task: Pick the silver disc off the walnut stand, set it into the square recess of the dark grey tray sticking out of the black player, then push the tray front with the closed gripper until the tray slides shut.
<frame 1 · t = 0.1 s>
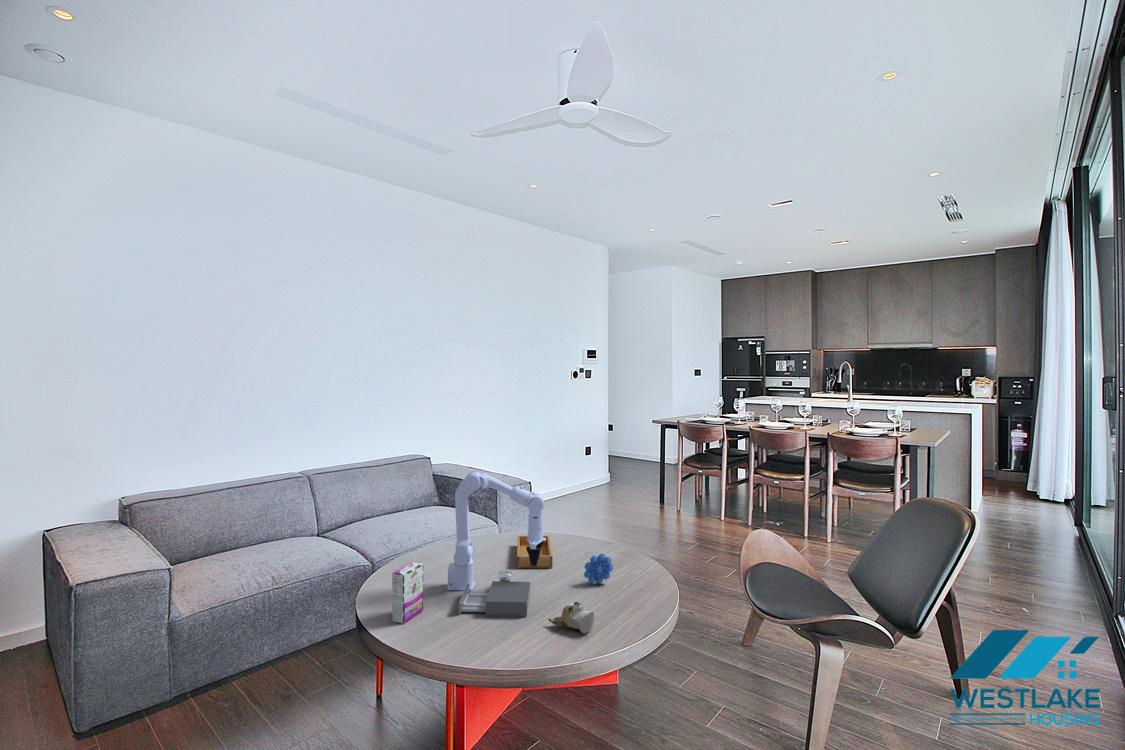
hand: (534, 562, 209), 10 cm above the table, fingers open, 7 cm apart
player housing: (508, 605, 193), on the table
blue flower shape: (598, 583, 215), on the table
tray: (533, 557, 245), on the table
ceramic sculpture: (574, 628, 177), on the table
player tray: (482, 598, 193), point 2 cm above the table, slide at 8.0 cm
silver disc: (505, 578, 208), point 4 cm above the table, touching walnut disc stand
candy bar box: (407, 616, 183), on the table
walnut disc stand: (504, 588, 208), on the table
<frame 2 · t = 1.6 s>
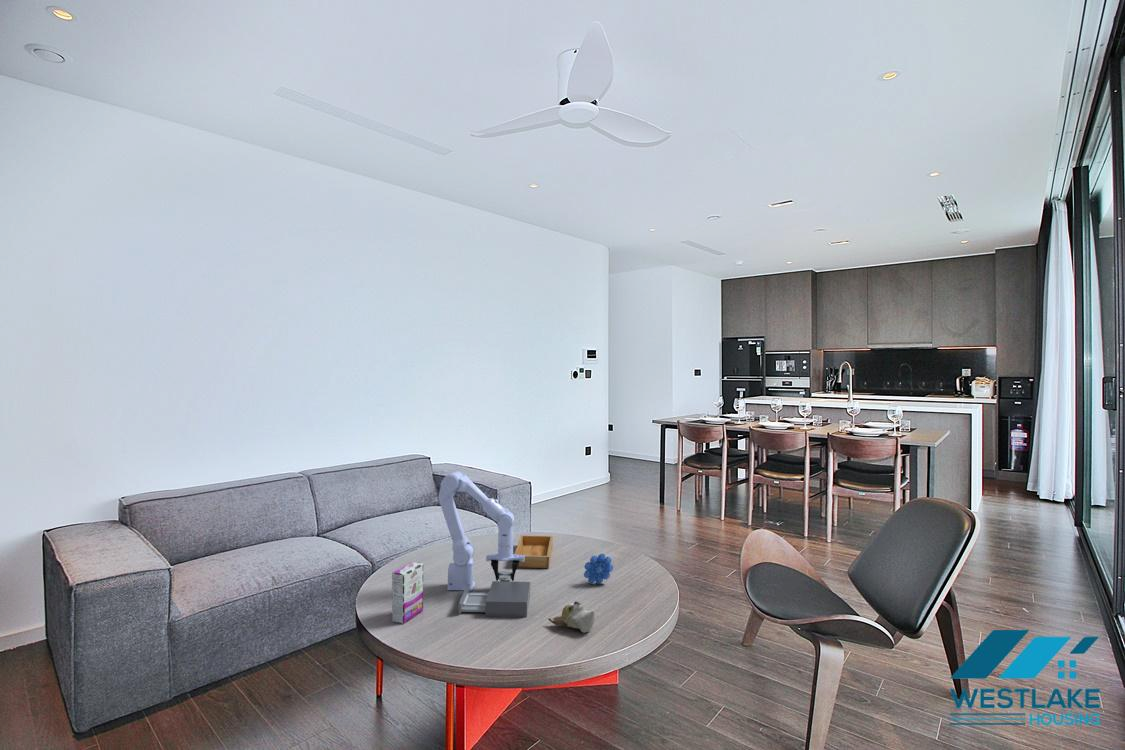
hand: (505, 579, 208), 3 cm above the table, fingers closed on silver disc, 5 cm apart
silver disc: (505, 578, 208), point 4 cm above the table, touching gripper, walnut disc stand
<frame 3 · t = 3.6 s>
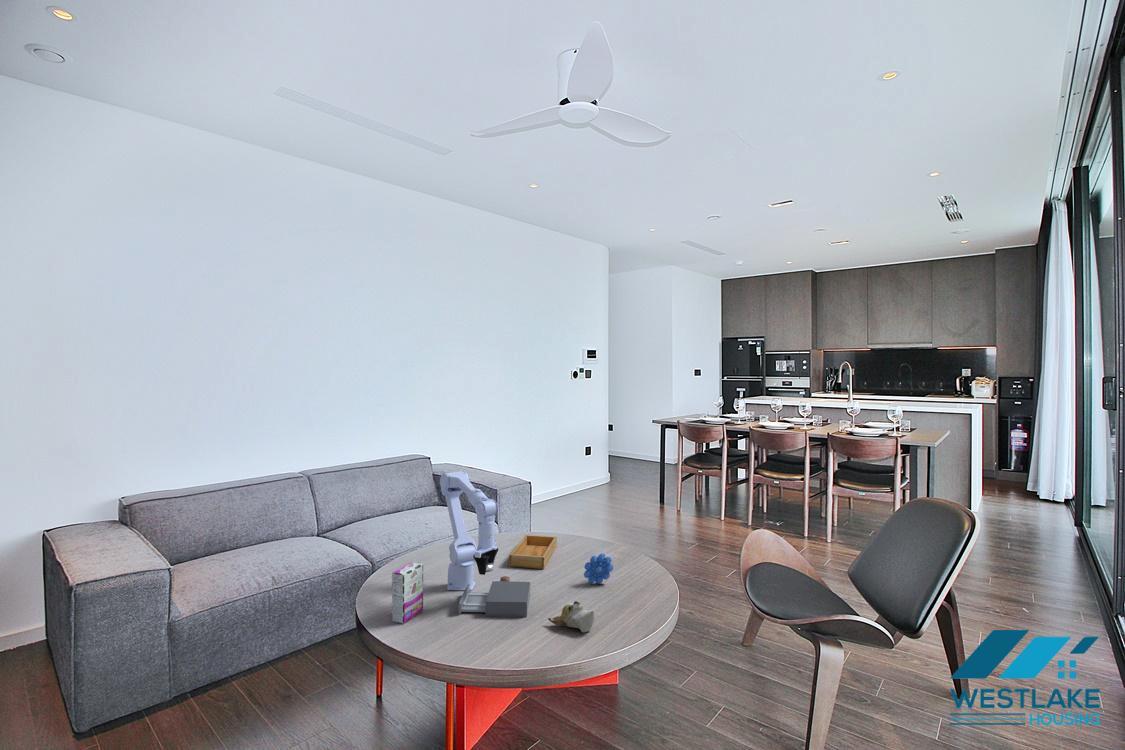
hand: (485, 571, 197), 10 cm above the table, fingers closed on silver disc, 5 cm apart
silver disc: (485, 569, 197), point 11 cm above the table, touching gripper
when the fingers open (2 cm above the table, at t = 6.0 s): silver disc drops 2 cm, resting on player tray.
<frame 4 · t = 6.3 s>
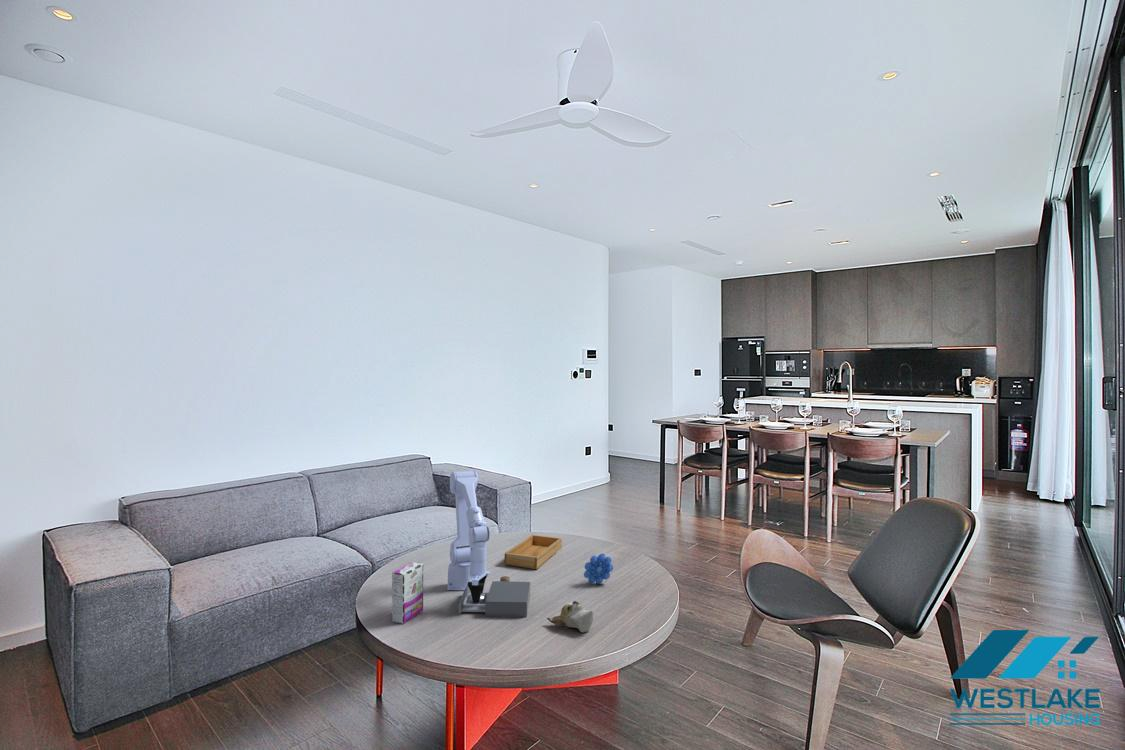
hand: (477, 597, 193), 2 cm above the table, fingers open, 7 cm apart
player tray: (482, 598, 193), point 2 cm above the table, slide at 8.0 cm, touching silver disc
silver disc: (477, 600, 193), point 1 cm above the table, touching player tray
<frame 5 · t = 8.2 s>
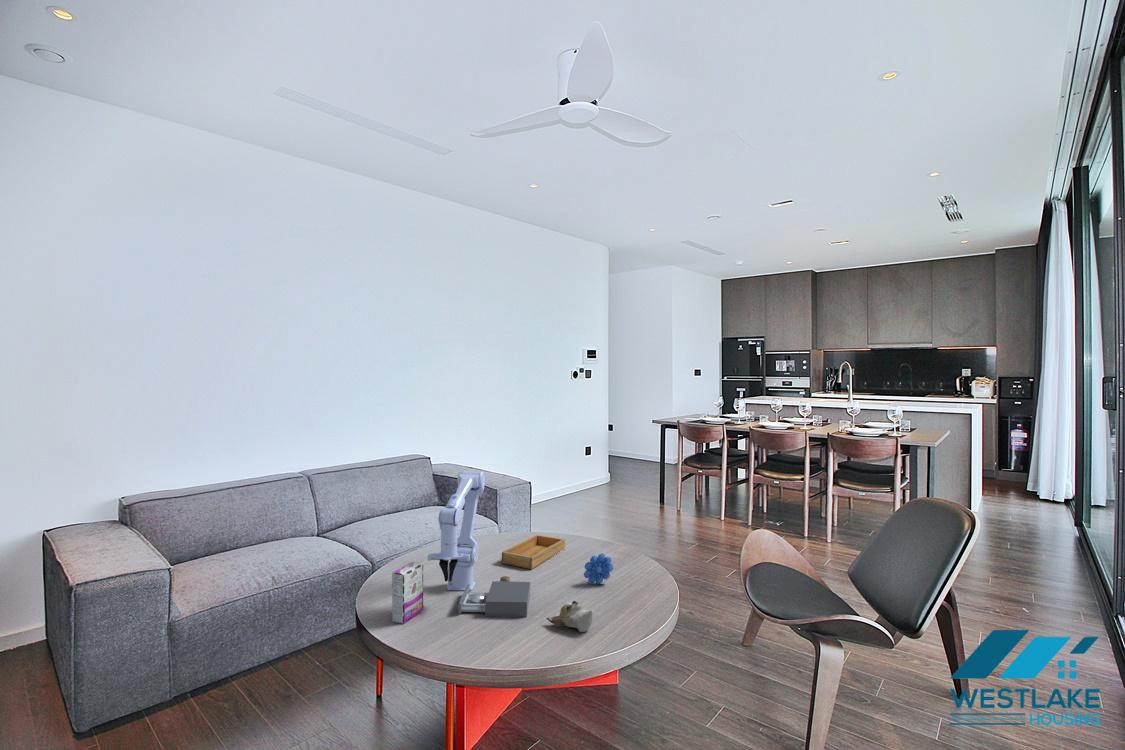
hand: (448, 580, 193), 8 cm above the table, fingers closed
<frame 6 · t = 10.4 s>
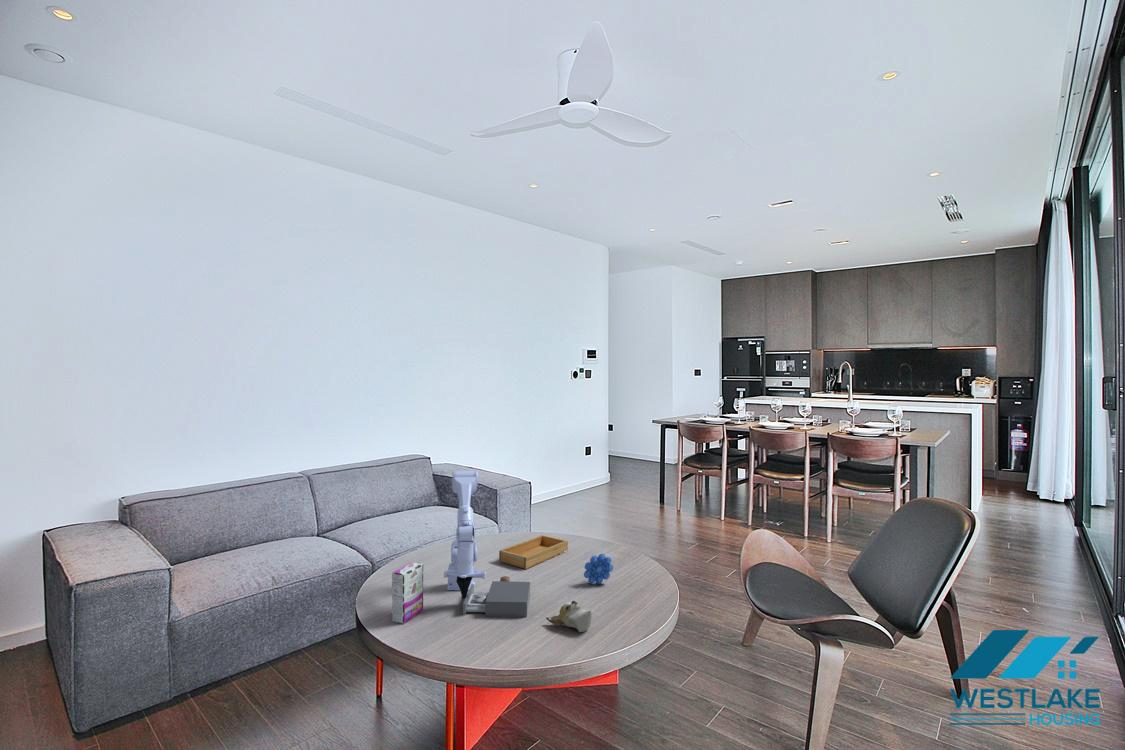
hand: (464, 597, 193), 2 cm above the table, fingers closed
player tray: (486, 598, 193), point 2 cm above the table, slide at 6.4 cm, touching gripper, silver disc
silver disc: (482, 600, 193), point 1 cm above the table, touching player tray
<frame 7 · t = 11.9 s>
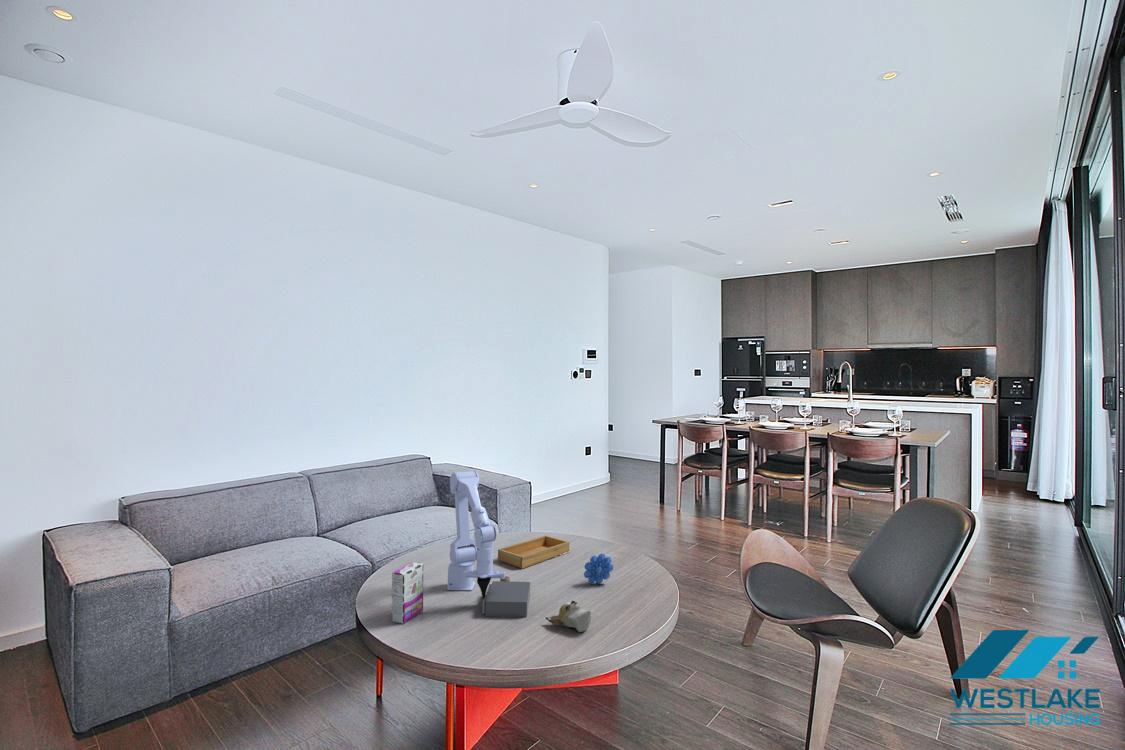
hand: (484, 598, 193), 2 cm above the table, fingers closed
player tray: (504, 598, 193), point 2 cm above the table, slide at -0.1 cm, touching gripper, silver disc
silver disc: (500, 601, 193), point 1 cm above the table, touching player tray
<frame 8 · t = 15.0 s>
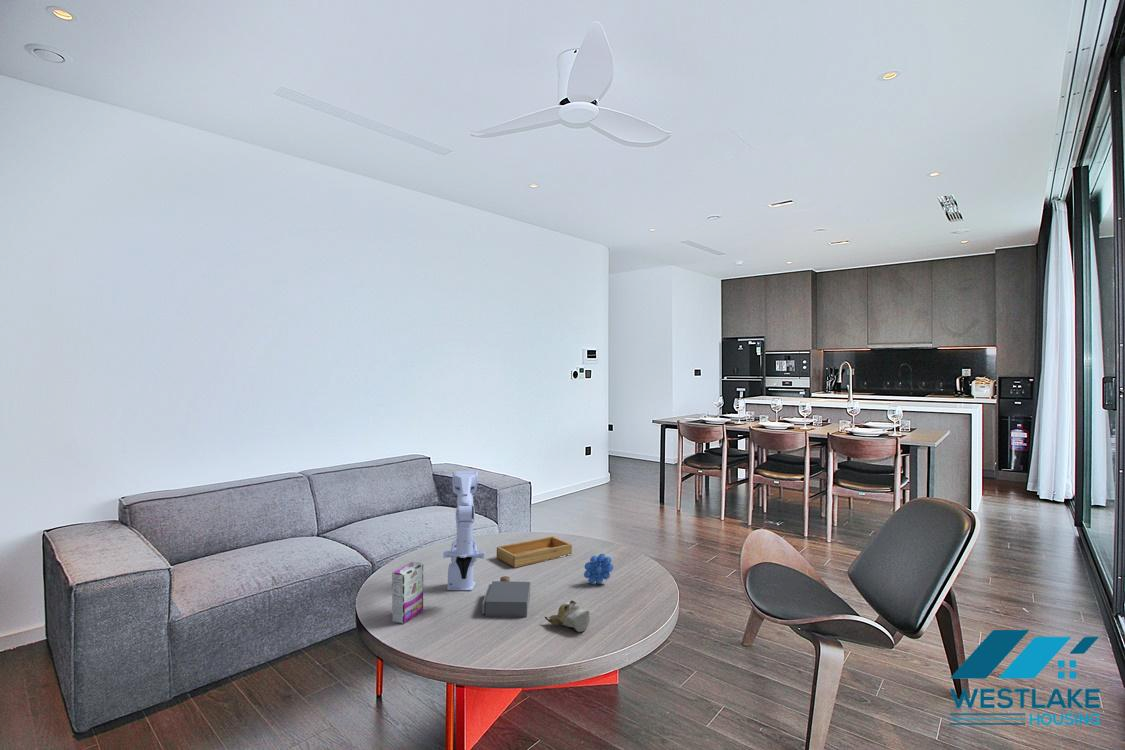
hand: (464, 578, 193), 9 cm above the table, fingers closed
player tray: (504, 598, 193), point 2 cm above the table, slide at 0.0 cm, touching silver disc
at the end: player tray slide at 0.0 cm; silver disc inside the target area on the player housing (2.8 cm from its centre), point 1.4 cm above the player housing's base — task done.
